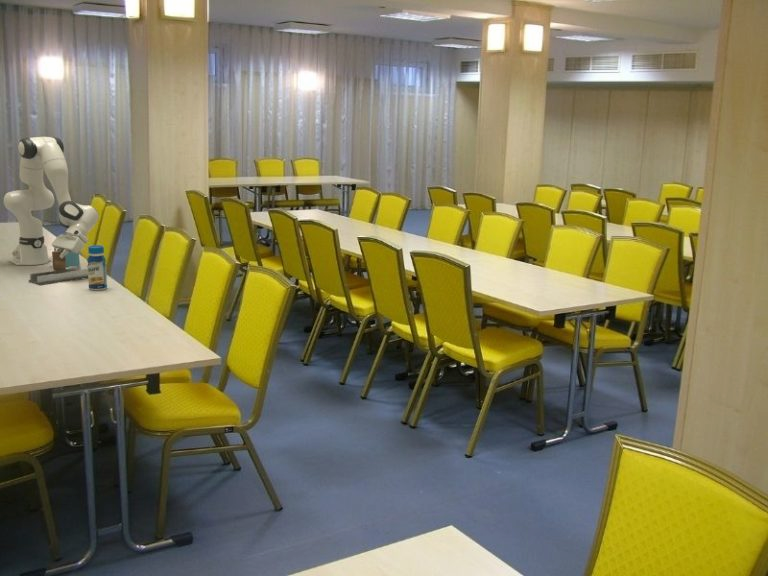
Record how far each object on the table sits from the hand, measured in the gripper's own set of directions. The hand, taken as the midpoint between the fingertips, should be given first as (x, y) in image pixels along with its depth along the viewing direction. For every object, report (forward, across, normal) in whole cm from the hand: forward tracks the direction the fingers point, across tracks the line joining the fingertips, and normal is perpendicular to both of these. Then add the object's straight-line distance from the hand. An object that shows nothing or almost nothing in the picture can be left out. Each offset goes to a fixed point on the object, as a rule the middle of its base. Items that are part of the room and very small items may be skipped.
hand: (57, 256), depth 400 cm
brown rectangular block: (+4, 0, +5) cm, 6 cm away
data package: (-6, -28, +23) cm, 37 cm away
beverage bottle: (+6, +30, +10) cm, 32 cm away
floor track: (+8, 0, +8) cm, 11 cm away
